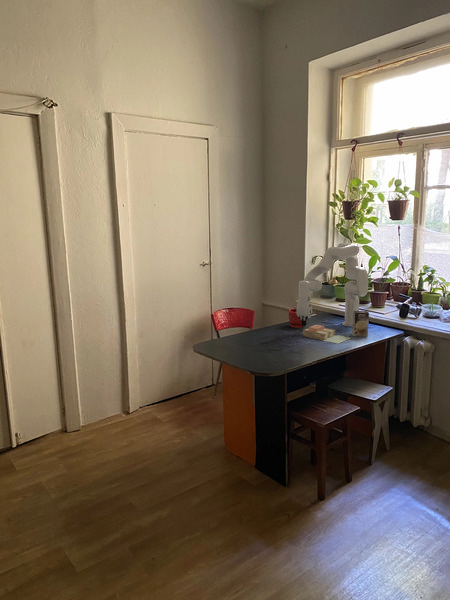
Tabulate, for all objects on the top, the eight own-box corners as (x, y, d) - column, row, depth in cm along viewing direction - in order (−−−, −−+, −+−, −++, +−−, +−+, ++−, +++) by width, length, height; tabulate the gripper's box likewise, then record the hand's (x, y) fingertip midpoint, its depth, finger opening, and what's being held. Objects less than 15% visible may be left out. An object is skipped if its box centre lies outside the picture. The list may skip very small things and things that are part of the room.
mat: (336, 335, 293) (336, 335, 293) (350, 338, 286) (351, 337, 286) (323, 340, 282) (323, 340, 282) (338, 343, 274) (338, 343, 274)
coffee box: (353, 336, 289) (354, 312, 286) (351, 334, 296) (352, 310, 293) (368, 336, 288) (369, 312, 285) (366, 334, 295) (367, 310, 292)
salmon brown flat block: (316, 327, 299) (316, 324, 298) (323, 328, 295) (324, 326, 294) (308, 330, 293) (308, 327, 292) (316, 331, 288) (316, 328, 288)
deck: (314, 331, 303) (314, 326, 303) (335, 335, 292) (335, 329, 292) (302, 336, 294) (302, 330, 293) (323, 340, 283) (323, 334, 282)
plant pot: (287, 328, 314) (287, 311, 312) (290, 323, 327) (290, 307, 324) (305, 329, 311) (306, 312, 308) (308, 324, 323) (308, 308, 321)
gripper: (316, 299, 294) (316, 326, 298) (298, 297, 304) (297, 322, 308) (310, 301, 289) (310, 328, 292) (291, 298, 299) (291, 325, 303)
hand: (303, 325), depth 300 cm, fingers closed
